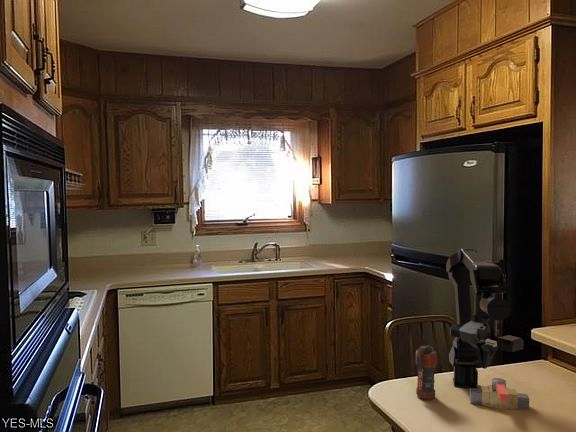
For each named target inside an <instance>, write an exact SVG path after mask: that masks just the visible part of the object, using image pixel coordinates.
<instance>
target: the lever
mask: <svg viewBox="0 0 576 432" xmlns="http://www.w3.org/2000/svg"><path fill="white" fill-rule="evenodd" d="M491 385H492V388H493V389H495V390H496V391H497V394H498V396H499V399H500V401H508V392H507V390H506V387H507V381H506V380H505V379H503V378H500V377H494V378H492V379H491Z"/></svg>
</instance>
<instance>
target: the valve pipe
mask: <svg viewBox="0 0 576 432" xmlns="http://www.w3.org/2000/svg"><path fill="white" fill-rule="evenodd" d="M506 390H507V392H508V401H500V399H499V396H498V394H497V391H496V390H495V389H493V388H492V384H487V385H486V386H485V385H480V388H469V402H470V404H474V405H481V406H486V407H489V408H494V409H495V408H496V409H502V410H503V409H504V410H511V409H512V410H526V409H527V410H528V411H529V410H530V397H529V394H528V393H520V392H517V390H516V389H515V388H509V387H508V386H506ZM527 410H526V411H527Z"/></svg>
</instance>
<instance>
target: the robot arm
mask: <svg viewBox="0 0 576 432" xmlns="http://www.w3.org/2000/svg"><path fill="white" fill-rule="evenodd" d="M445 269H446V273H448V280H449V281H450V282H451V284H452V285H453V286H454V295H455V311H456V324H454V325H451V327H450V328H449V332H450V333H449V335H450V336H451V337H454V338H453V341H452V347H451V348H450V351H449V354H448V359H449V363H450V364H451V366H452V367H453V377H452V381H453V382H452V383H453V386H454V387H460V388H469V389H470V388H474V389H478V388H477V385H478V384H479V383H478V382H479V370H478V368H482V369H483V370H484V369H485V370H486V369H487V368H488V367H489V365H490V363H491V362H492V360H493V357H494V355H495V353H496V352H497V351H498V350H500V351H503V352H508V353H515V352H518V351H521V350H524V341H523V339H522V337H519V336H518V337H517V336H514V335H510V334H508V335H504V336H499V335H500V329H497V328H498V326H497V325H498V321H504V320H506V319H507V318H508V317H509V316H510V315H511V311H512V310H511V308H512V307H511V304H510V302H508V300H507V299H504V294H507V293H508V292H507V288H508V284H507V281H506V278H505V274H504V273H503V270H502V269H501V268H500V266H499V265H498V264H495V263H491V262H487V261H485V259H484V258H482V256H481V255H480V254H479V253H478V252H477V249H475V248H462V247H461V248H460V249H459V248H458V250H457V252H456V253H454V254H452V255H450V256H448V259H447V261H446V268H445ZM471 285H472V288H473V291H474V299H473V300H474V306H473V307H474V308H473V310H472V300H471V299H472V298H471V297H472V296H471ZM497 335H498V336H497Z"/></svg>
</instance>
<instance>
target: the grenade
mask: <svg viewBox="0 0 576 432" xmlns="http://www.w3.org/2000/svg"><path fill="white" fill-rule="evenodd" d="M437 363H438V353H437V351H436V350H435V349H434V347H433V346H431V345H421V346H419V347H418V348H417V349H416V351H415V365H416V370H417V378H416V379H417V387H416V388H415V389H416V390H415V394H416V395H417V397H418V398H419V399H421V400H426V401H428V400H429V401H430V400H433V399H434V398H435V396H436V390H435V369H436V366H438V365H437Z"/></svg>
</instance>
